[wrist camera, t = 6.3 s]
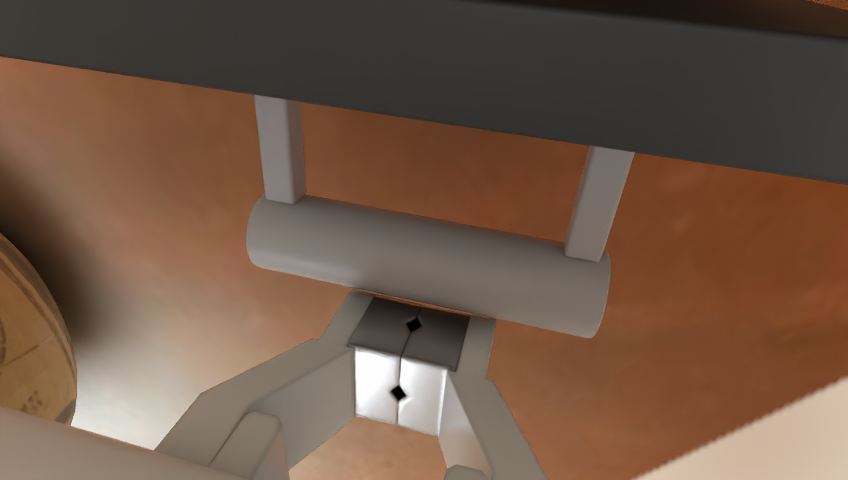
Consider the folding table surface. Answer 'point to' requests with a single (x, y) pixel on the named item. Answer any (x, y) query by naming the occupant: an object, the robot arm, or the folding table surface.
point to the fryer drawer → (481, 114)
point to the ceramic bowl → (33, 343)
